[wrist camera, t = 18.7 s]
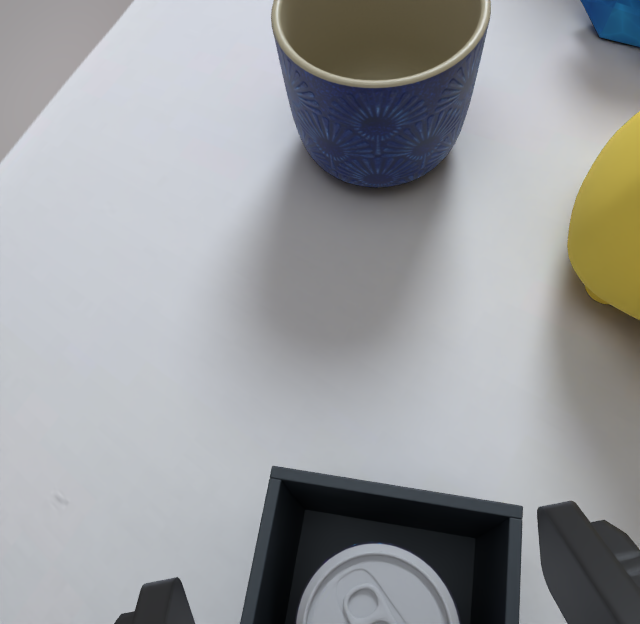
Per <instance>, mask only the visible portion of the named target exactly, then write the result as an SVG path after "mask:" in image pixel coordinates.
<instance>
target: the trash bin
mask: <svg viewBox="0 0 640 624" xmlns="http://www.w3.org/2000/svg"><path fill="white" fill-rule="evenodd" d="M522 517H523V507H522V506H519V505H513V504H507V503H501V502H494V501H488V500H482V499H476V498H470V497H463V496H457V495H451V494H445V493H439V492H432V491H426V490H420V489H414V488H408V487H401V486H395V485H389V484H383V483H377V482H370V481H364V480H358V479H352V478H346V477H339V476H333V475H327V474H321V473H315V472H308V471H302V470H296V469H290V468H284V467H278V466H272V469H271V474H270V479H269V484H268V489H267V494H266V499H265V504H264V509H263V513H262V518H261V523H260V528H259V533H258V538H257V543H256V548H255V553H254V558H253V563H252V568H251V573H250V578H249V582H248V587H247V592H246V597H245V602H244V607H243V612H242V617H241V622H240V624H294V622H295V615H296V610H297V606H298V602H299V599H300V596H301V594H302V591H303V589H304V587H305V585H306V583H307V582H308V580H309V578H310V577H311V575H312V574H313V573H314V571H315V570H316V569H317V568H318V567H319V566H320V565H321V564H322V563H323V562H324V561H325V560H326V559H327V558H329V557H330V556H331V555H333V554H334V553H336V552H338V551H340V550H341V549H343V548H346V547H348V546H351V545H354V544H358V543H364V542H386V543H391V544H395V545H398V546H401V547H404V548H406V549H408V550H410V551H412V552H414V553H416V554H417V555H419V556H420V557H422V558H423V559H424V560H426V561H427V562H428V563H429V564H430V565H431V566H432V567H433V568H434V569H435V570H436V571H437V572H438V573H439V574H440V576H441V577H442V578H443V580H444V581H445V583H446V584H447V586H448V588H449V589H450V591H451V593H452V595H453V597H454V600H455V602H456V605H457V608H458V611H459V615H460V620H461V624H519V605H520V575H521V546H522V520H521V519H522Z"/></svg>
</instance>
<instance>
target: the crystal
mask: <svg viewBox="0 0 640 624" xmlns="http://www.w3.org/2000/svg"><path fill="white" fill-rule="evenodd" d="M581 2H582V4H583V6H584V8H585V10H586V12H587V14H588V16H589V18H590V20H591V22H592V23H593V25H594V27H595V29H596V31H597V33H598V35H599V37H600V38H604V39H608V40H612V41H617V42H621V43H625V44H629V45H633V46H637V47H640V0H581Z"/></svg>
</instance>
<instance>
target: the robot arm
mask: <svg viewBox="0 0 640 624" xmlns="http://www.w3.org/2000/svg"><path fill="white" fill-rule="evenodd" d="M537 520H538V532H539V545H540V558H541V566H542V571H543V575H544V578H545V581H546V584H547V586H548V588H549V591H550V593H551V595H552V596H553V598H554V600H555V602H556V604H557V605H558V607H559V609H560V611H561V613H562V614H563V616H564V618H565V620H566V621H567V623H568V624H640V550H639V548H638V547H637V546H636V545H635V543H634V542H633V541H632V540H631V539H630V537H629V536H628V535H627V534H626V533H624V532H623V531H621V530H620V529H618V528H616V527H615V526H613V525H612V524H610V523H609V522H607V521H605V520H601V521H596V522H591V523H590V521H589V520H588V519H587V517H586V516H585V515H584V513H583V512H582V511H581V509H580V508H579V507H578V505H577V504H576V503H575V502H573V501H567V502H562V503H557V504H552V505H547V506H542V507H539V508H538V510H537ZM114 624H195V622H194V619H193V616H192V613H191V609H190V606H189V603H188V600H187V597H186V594H185V591H184V588H183V585H182V582H181V580H180V579H179V578H178V577H176V578H171V579H166V580H161V581H156V582H151V583H146V584H144V585H143V586H142V588H141V591H140V594H139V598H138V602H137V605H136V609H135V611H134V612H129V613H124V614H121V615H120V616H119V618H118V619H117V620H116V622H115V623H114Z"/></svg>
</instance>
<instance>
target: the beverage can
mask: <svg viewBox="0 0 640 624" xmlns="http://www.w3.org/2000/svg"><path fill="white" fill-rule="evenodd" d="M294 624H461V620H460V615H459V611H458V608H457V605H456V602H455V600H454V597H453V595H452V593H451V591H450V589H449V588H448V586H447V584H446V583H445V581H444V580H443V578H442V577H441V576H440V574H439V573H438V572H437V571H436V570H435V569H434V568H433V567H432V566H431V565H430V564H429V563H428V562H427V561H426V560H424V559H423V558H422V557H420V556H419V555H417V554H416V553H414V552H412V551H410V550H408V549H406V548H404V547H401V546H398V545H395V544H391V543H386V542H364V543H358V544H354V545H351V546H348V547H346V548H343V549H341V550H340V551H338V552H336V553H334V554H333V555H331V556H330V557H329V558H327V559H326V560H325V561H324V562H323V563H322V564H321V565H320V566H319V567H318V568H317V569H316V570H315V571H314V573H313V574H312V575H311V577H310V578H309V580H308V582H307V583H306V585H305V587H304V589H303V591H302V594H301V596H300V599H299V602H298V606H297V610H296V615H295V622H294Z"/></svg>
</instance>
